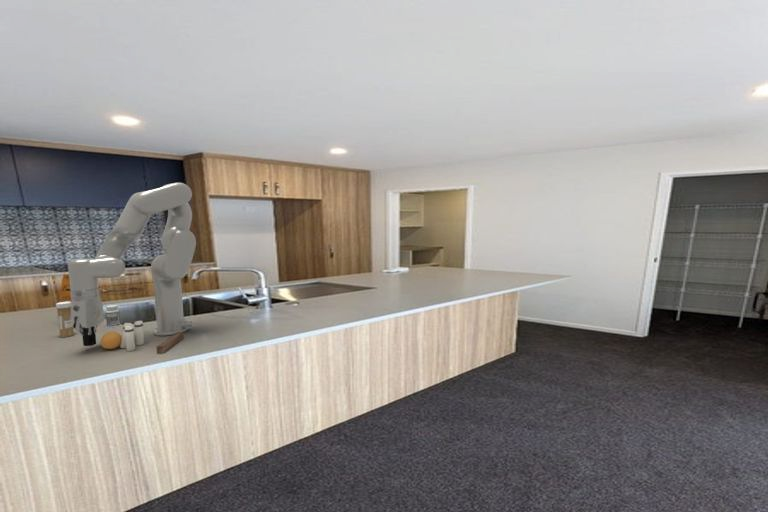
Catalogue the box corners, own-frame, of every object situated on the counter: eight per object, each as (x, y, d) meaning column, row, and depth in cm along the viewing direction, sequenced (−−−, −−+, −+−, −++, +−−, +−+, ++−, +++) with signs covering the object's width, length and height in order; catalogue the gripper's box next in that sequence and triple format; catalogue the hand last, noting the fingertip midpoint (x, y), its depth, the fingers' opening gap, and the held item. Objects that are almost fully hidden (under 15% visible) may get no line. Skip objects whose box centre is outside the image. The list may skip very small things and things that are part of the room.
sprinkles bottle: (73, 336, 142) (70, 302, 140) (58, 338, 139) (54, 304, 138) (75, 333, 146) (72, 300, 144) (60, 335, 143) (57, 302, 142)
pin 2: (146, 342, 133) (144, 320, 132) (142, 345, 130) (140, 322, 130) (138, 343, 133) (136, 320, 132) (134, 345, 130) (132, 322, 129)
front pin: (130, 346, 130) (134, 323, 129) (125, 348, 127) (130, 325, 126) (122, 344, 129) (126, 322, 129) (118, 347, 127) (122, 324, 126)
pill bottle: (111, 323, 159) (109, 304, 159) (122, 322, 160) (121, 304, 159) (104, 326, 155) (102, 307, 154) (115, 326, 155) (114, 307, 154)
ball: (109, 329, 130) (108, 345, 130) (97, 333, 124) (95, 350, 124) (126, 330, 130) (125, 347, 130) (114, 335, 124) (113, 352, 124)
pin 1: (136, 348, 127) (135, 325, 126) (132, 351, 125) (130, 327, 124) (129, 348, 127) (127, 325, 126) (124, 351, 124) (122, 327, 123)
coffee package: (72, 319, 167) (68, 272, 165) (101, 318, 168) (97, 271, 166) (56, 325, 157) (51, 275, 155) (87, 324, 158) (82, 274, 156)
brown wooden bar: (183, 338, 138) (183, 331, 138) (163, 353, 122) (162, 346, 122) (178, 338, 138) (177, 331, 138) (157, 353, 122) (156, 346, 122)
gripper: (81, 298, 118) (86, 352, 120) (110, 289, 133) (114, 337, 135) (56, 299, 117) (62, 353, 119) (88, 290, 132) (92, 338, 134)
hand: (89, 345), depth 127 cm, fingers closed
